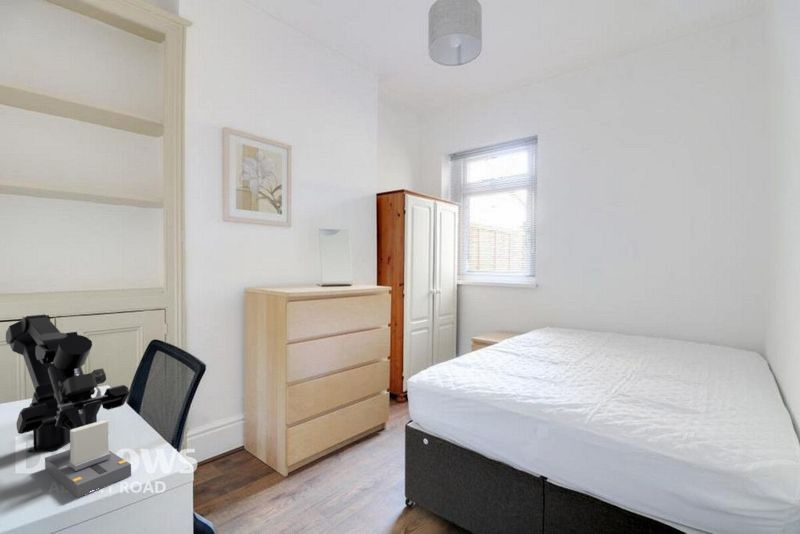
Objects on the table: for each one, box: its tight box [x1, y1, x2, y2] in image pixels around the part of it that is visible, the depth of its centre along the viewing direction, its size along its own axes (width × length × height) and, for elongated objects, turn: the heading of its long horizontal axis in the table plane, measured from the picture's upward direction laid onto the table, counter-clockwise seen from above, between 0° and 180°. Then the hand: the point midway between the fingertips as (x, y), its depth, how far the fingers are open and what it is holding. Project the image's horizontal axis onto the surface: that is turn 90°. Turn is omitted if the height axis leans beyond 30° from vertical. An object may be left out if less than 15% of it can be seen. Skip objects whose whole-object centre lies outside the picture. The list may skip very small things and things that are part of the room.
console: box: [44, 449, 132, 499], centre depth 81 cm, size 20×9×3 cm, turn 57°
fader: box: [69, 419, 111, 471], centre depth 80 cm, size 4×6×8 cm, turn 147°
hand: (87, 439), depth 81 cm, fingers closed, pressing on fader
